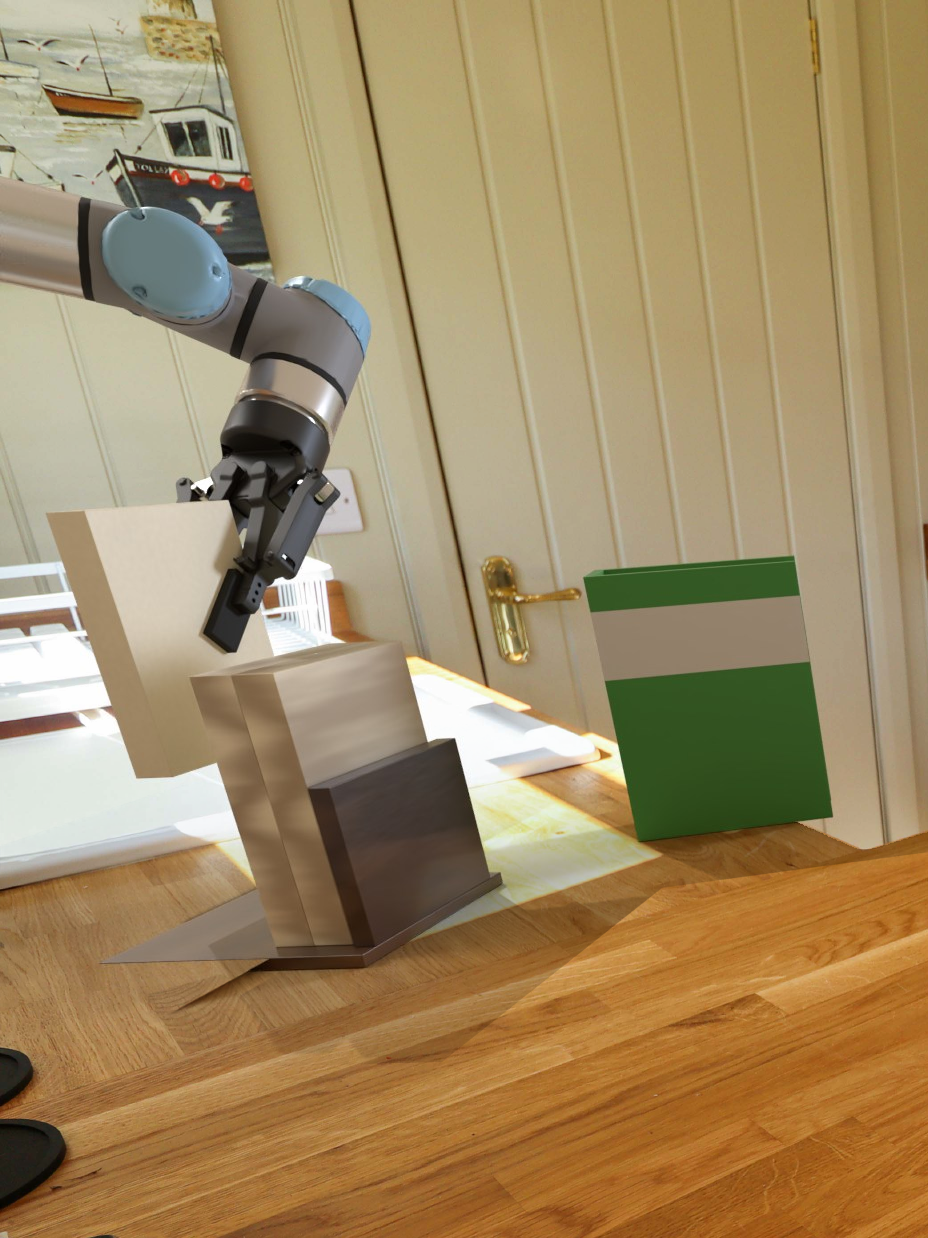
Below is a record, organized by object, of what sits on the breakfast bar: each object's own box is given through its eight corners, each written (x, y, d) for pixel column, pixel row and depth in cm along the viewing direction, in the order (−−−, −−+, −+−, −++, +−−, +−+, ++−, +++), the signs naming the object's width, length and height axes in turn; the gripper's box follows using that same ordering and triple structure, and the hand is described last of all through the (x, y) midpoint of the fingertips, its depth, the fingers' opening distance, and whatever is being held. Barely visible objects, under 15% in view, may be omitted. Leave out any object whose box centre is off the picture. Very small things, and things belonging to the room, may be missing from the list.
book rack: (102, 975, 92) (-5, 689, 85) (279, 890, 109) (202, 645, 102) (365, 967, 91) (279, 677, 84) (503, 882, 108) (441, 634, 101)
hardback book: (831, 798, 128) (794, 555, 120) (833, 817, 122) (794, 561, 113) (646, 820, 124) (594, 569, 116) (638, 841, 117) (583, 577, 109)
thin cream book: (136, 778, 99) (45, 512, 92) (265, 737, 112) (194, 501, 105) (172, 777, 99) (84, 510, 92) (298, 736, 112) (228, 499, 105)
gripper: (395, 453, 116) (323, 666, 106) (228, 462, 117) (141, 674, 107) (341, 390, 109) (259, 611, 99) (163, 399, 110) (64, 620, 100)
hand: (198, 643), depth 103 cm, fingers closed on thin cream book, 3 cm apart
